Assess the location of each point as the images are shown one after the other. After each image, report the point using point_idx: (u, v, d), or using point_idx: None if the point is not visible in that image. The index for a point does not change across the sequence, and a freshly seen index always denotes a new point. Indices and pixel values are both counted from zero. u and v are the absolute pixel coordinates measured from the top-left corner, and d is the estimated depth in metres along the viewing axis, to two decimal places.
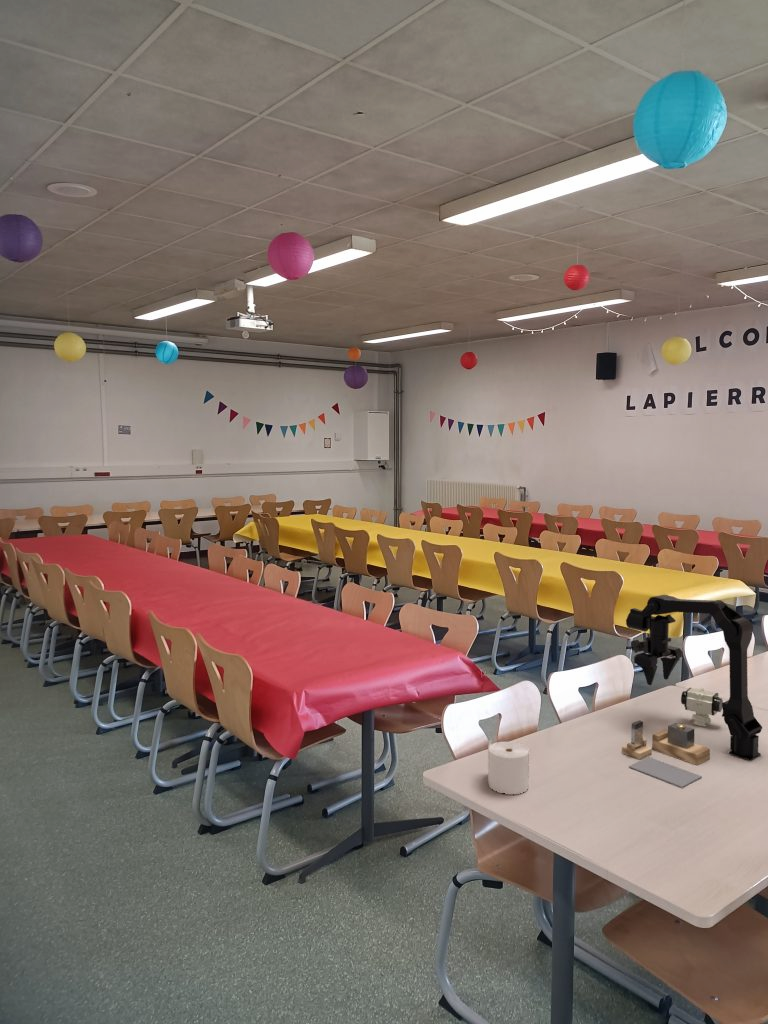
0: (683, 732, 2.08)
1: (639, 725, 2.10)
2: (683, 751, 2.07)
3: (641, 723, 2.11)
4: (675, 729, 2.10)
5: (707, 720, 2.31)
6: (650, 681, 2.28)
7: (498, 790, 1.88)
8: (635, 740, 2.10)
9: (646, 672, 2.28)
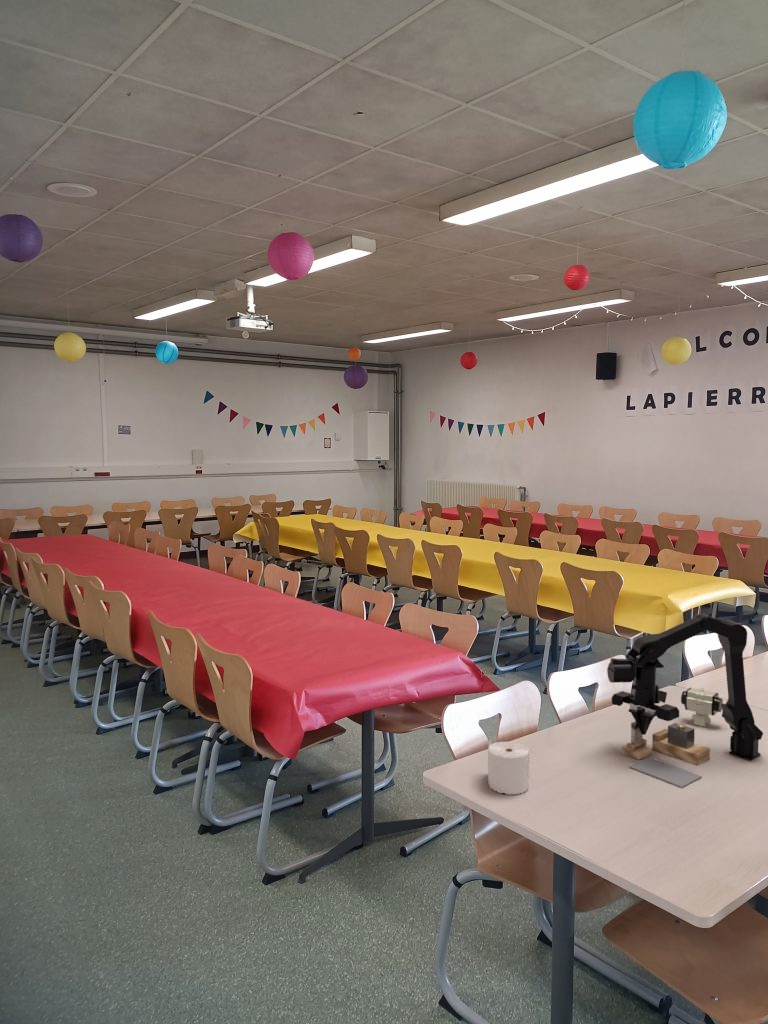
0: (683, 732, 2.08)
1: None
2: (683, 751, 2.07)
3: None
4: (675, 729, 2.10)
5: (707, 720, 2.31)
6: None
7: (498, 790, 1.88)
8: (635, 740, 2.10)
9: None
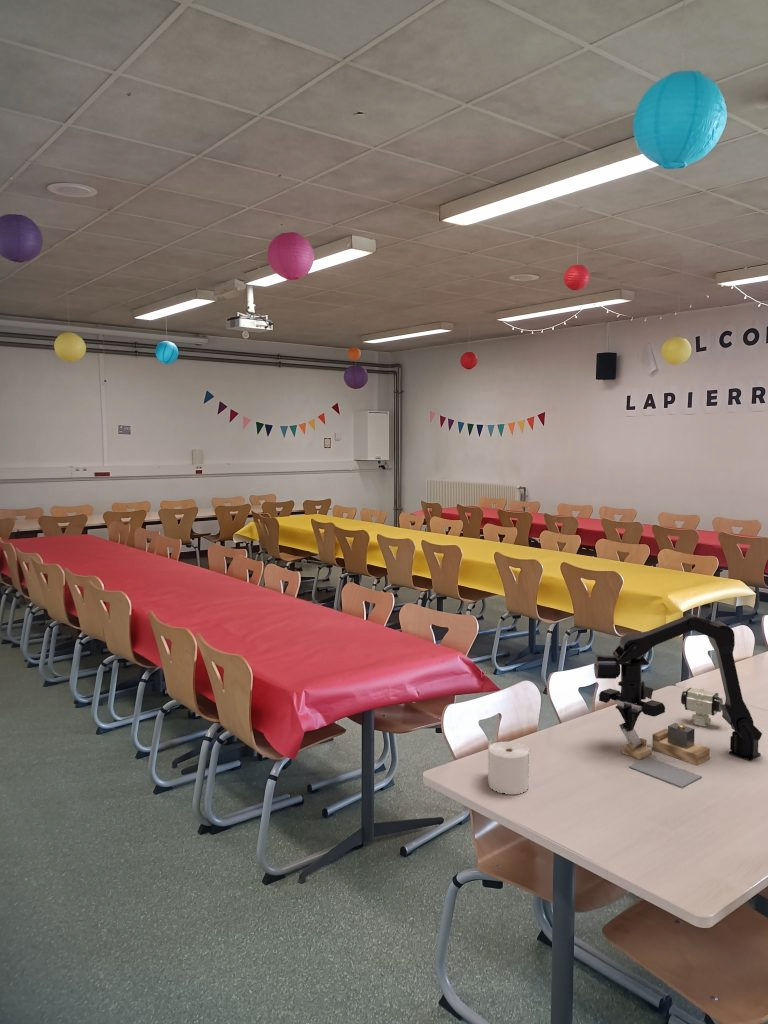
0: (683, 732, 2.08)
1: None
2: (683, 751, 2.07)
3: None
4: (675, 729, 2.10)
5: (707, 720, 2.31)
6: None
7: (498, 790, 1.88)
8: (631, 739, 2.11)
9: None
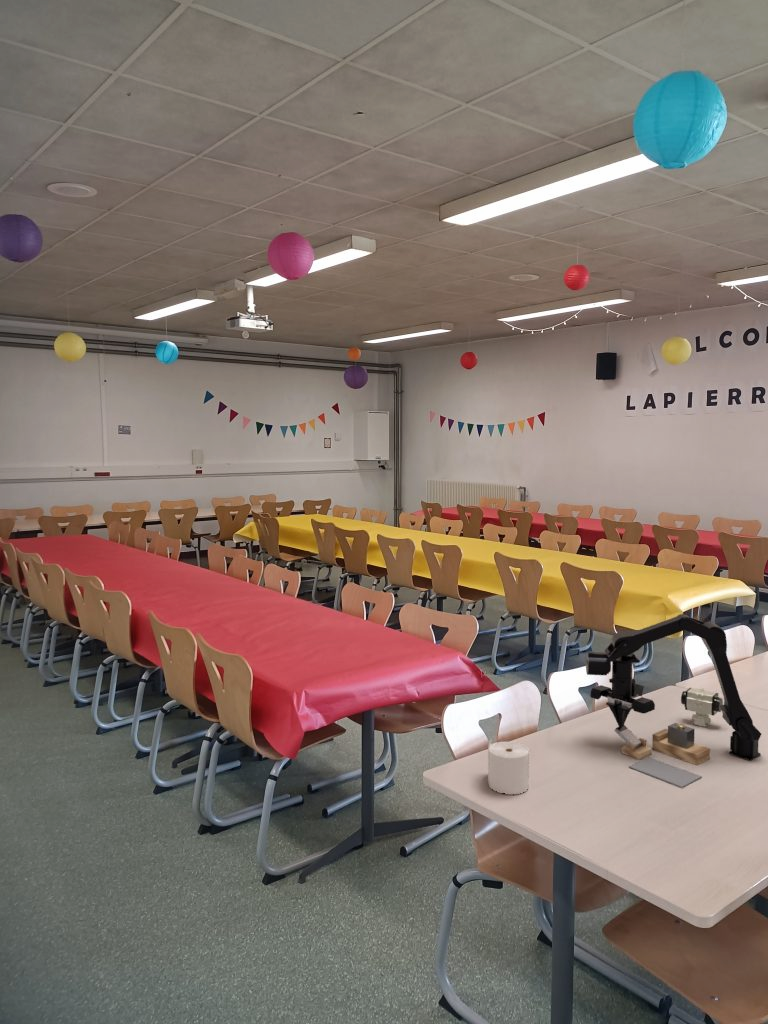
0: (683, 732, 2.08)
1: (622, 728, 2.15)
2: (683, 751, 2.07)
3: (623, 726, 2.16)
4: (675, 729, 2.10)
5: (707, 720, 2.31)
6: None
7: (498, 790, 1.88)
8: (629, 740, 2.11)
9: None
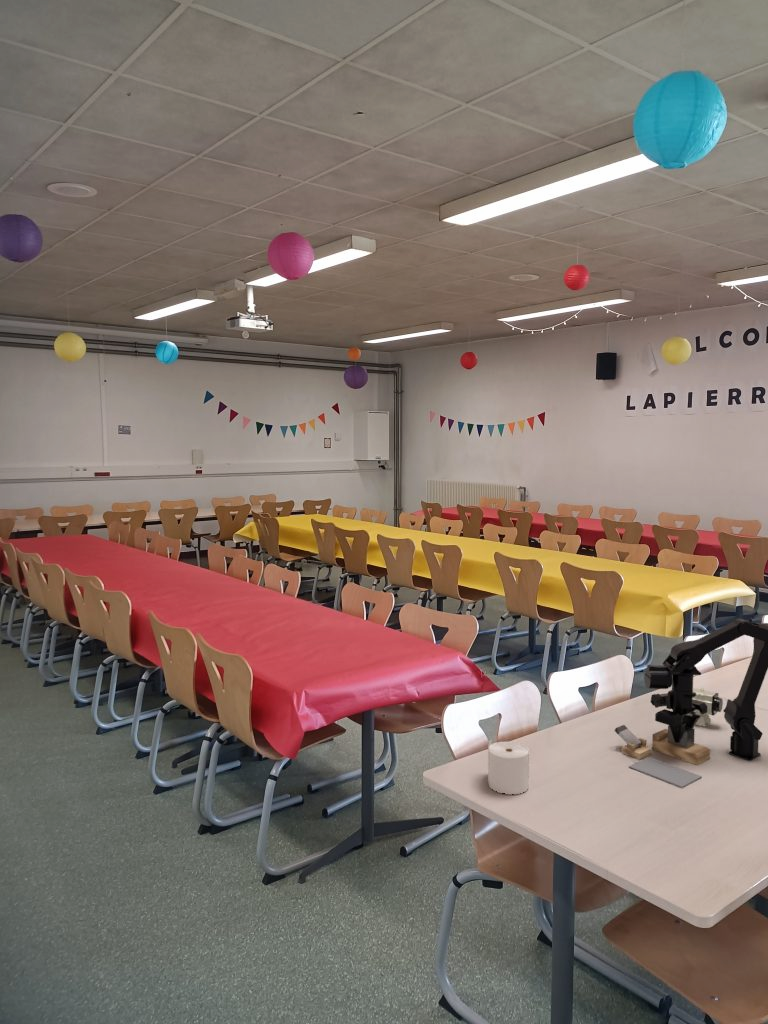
0: (683, 732, 2.08)
1: (622, 728, 2.15)
2: (683, 751, 2.07)
3: (623, 726, 2.16)
4: None
5: (707, 720, 2.31)
6: (678, 738, 2.09)
7: (498, 790, 1.88)
8: (629, 740, 2.11)
9: (673, 729, 2.09)
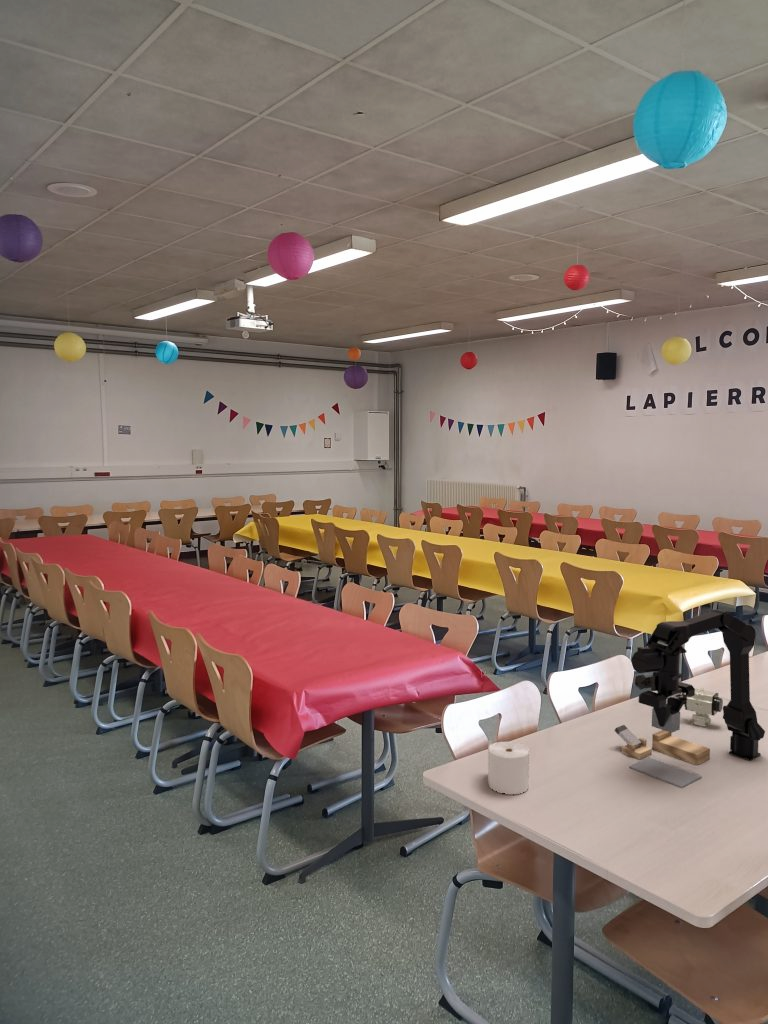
0: (668, 715, 1.96)
1: (622, 728, 2.15)
2: (683, 751, 2.07)
3: (623, 726, 2.16)
4: None
5: (707, 720, 2.31)
6: (662, 722, 1.96)
7: (498, 790, 1.88)
8: (629, 740, 2.11)
9: (658, 711, 1.97)
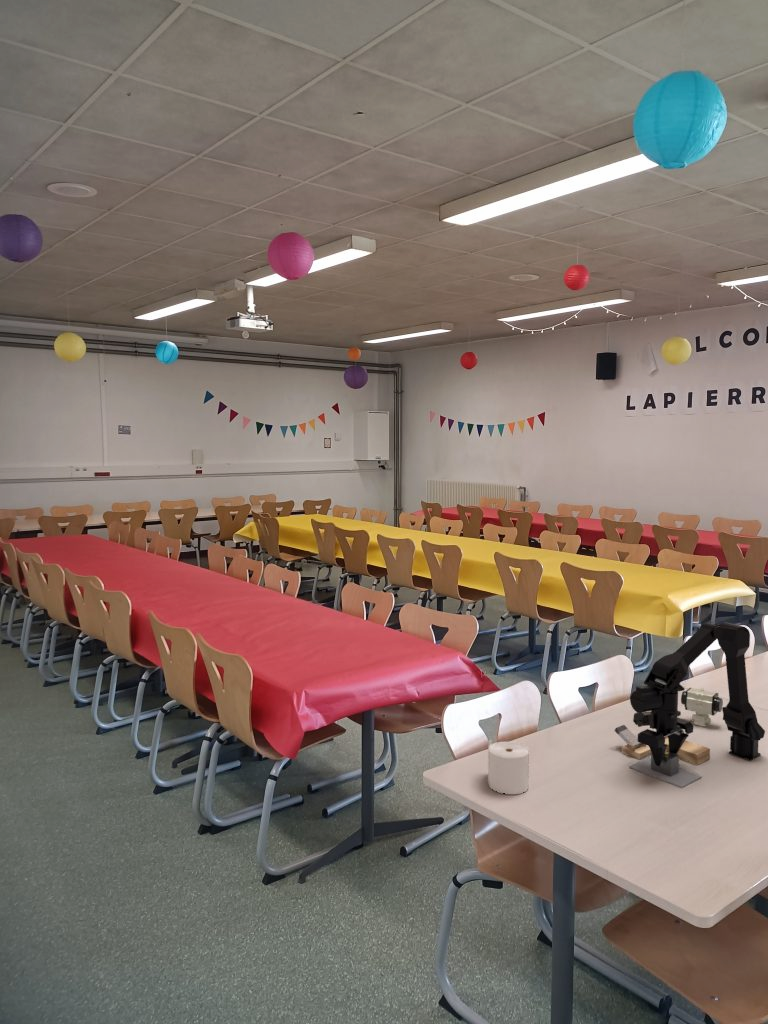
0: (667, 759, 1.96)
1: (622, 728, 2.15)
2: (683, 751, 2.07)
3: (623, 726, 2.16)
4: None
5: (707, 720, 2.31)
6: (658, 762, 1.96)
7: (498, 790, 1.88)
8: (629, 740, 2.11)
9: (654, 751, 1.96)
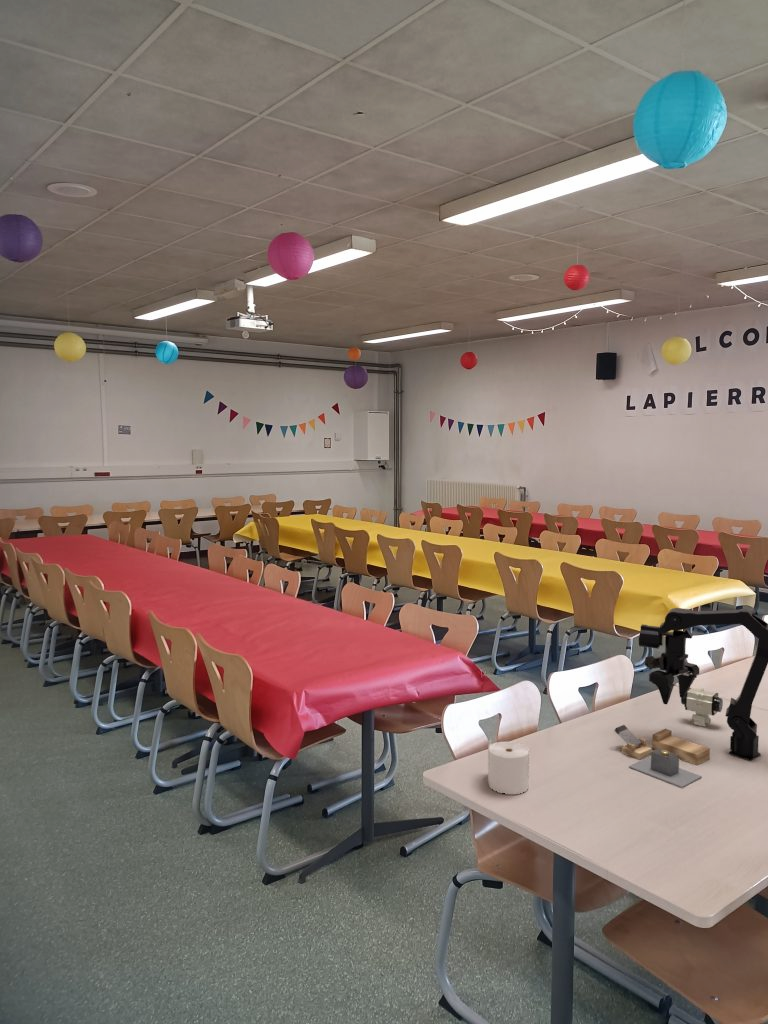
0: (667, 759, 1.96)
1: (622, 728, 2.15)
2: (683, 751, 2.07)
3: (623, 726, 2.16)
4: (659, 755, 1.98)
5: (707, 720, 2.31)
6: (666, 700, 2.15)
7: (498, 790, 1.88)
8: (629, 740, 2.11)
9: (662, 691, 2.15)
